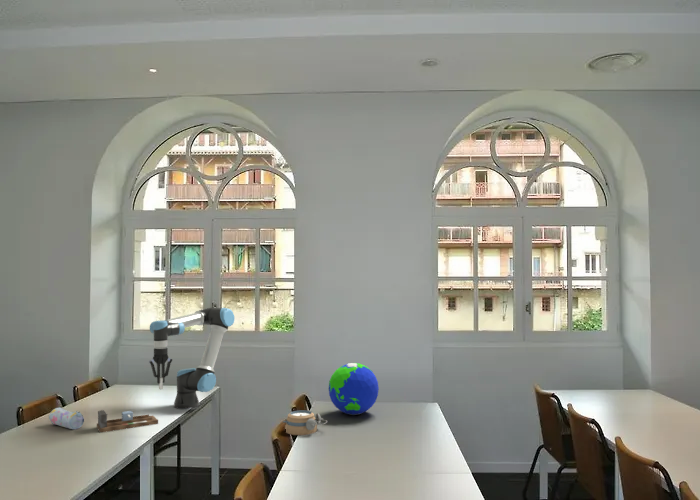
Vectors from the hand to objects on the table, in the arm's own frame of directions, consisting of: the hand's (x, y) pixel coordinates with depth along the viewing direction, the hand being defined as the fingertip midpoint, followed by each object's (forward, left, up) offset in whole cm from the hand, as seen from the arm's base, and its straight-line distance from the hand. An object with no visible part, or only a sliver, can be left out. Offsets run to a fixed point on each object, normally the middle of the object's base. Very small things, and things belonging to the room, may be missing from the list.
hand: (160, 388), depth 322 cm
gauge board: (+18, 0, -18) cm, 25 cm away
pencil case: (+47, -17, -18) cm, 53 cm away
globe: (-99, +50, -18) cm, 112 cm away
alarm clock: (-60, +64, -18) cm, 90 cm away
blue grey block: (+18, +2, -16) cm, 24 cm away
